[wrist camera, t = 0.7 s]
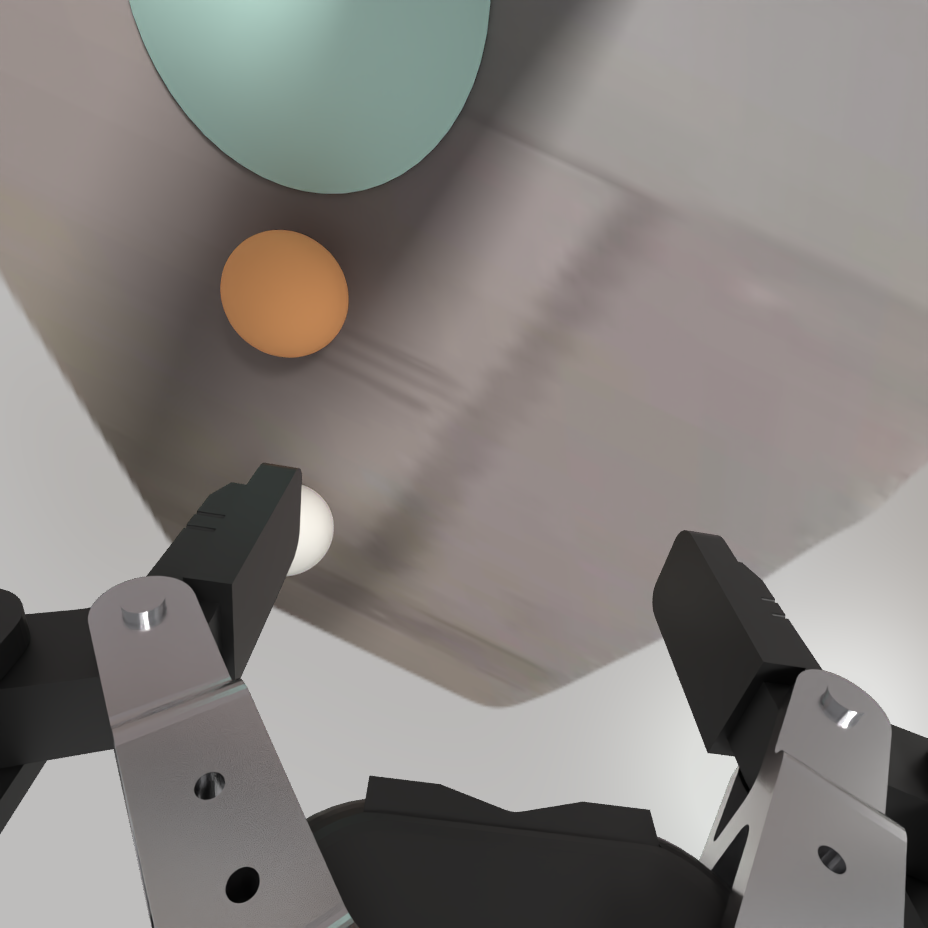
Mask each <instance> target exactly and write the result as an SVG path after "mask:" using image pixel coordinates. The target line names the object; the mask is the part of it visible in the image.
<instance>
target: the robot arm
mask: <svg viewBox="0 0 928 928" xmlns="http://www.w3.org/2000/svg"><path fill="white" fill-rule="evenodd" d="M301 489H302V473H301V469H299V468H293V467H287V466H281V465H274V464H268V463H262V464H261V465H260V466H259V468H258V469H257V471H256V472H255V473H254V475H253V476H252V478H251V479H250V481H249V482H248V484H247V485H244V484H237V483H230V484H228V485H226V486H224V487H223V488H221V489H219V490H217V491H216V492H214V493H212V494H210V495H209V497H208V498H207V499H206V500H205V502H204V503H203V504H202V506H201V507H200V508H199V509H198V511H197V514H195V515H194V516H193V517H192V518H191V520H190V521H189V522H188V524H187V527H186V528H184V529H183V530H182V531H181V533H180V534H179V535H178V536H177V538H176V539H175V540H174V542H173V543H172V544H171V545H170V547H169V548H168V549H167V551H166V552H165V553H164V554H163V556H162V557H161V558H160V560H159V561H158V562H157V563H156V565H155V566H154V567H153V569H152V570H151V571H150V572H149V574H148V575H147V576H146V577H140V578H135V579H132V580H128V581H125V582H123V583H121V584H118V585H116V586H114V587H112V588H111V589H109V590H108V591H106V592H105V593H103V594H102V595H101V596H100V597H99V598H98V599H97V600H96V601H95V602H94V604H93V605H92V607H91V608H85V609H78V610H69V611H57V612H47V613H35V614H25V612H24V609H23V605H22V603H21V601H20V599H19V598H18V597H17V596H16V595H15V594H13V593H11V592H9V591H6V590H3V589H0V834H1V832H2V830H3V829H4V827H5V826H6V824H7V822H8V821H9V819H10V818H11V816H12V814H13V813H14V811H15V810H16V808H17V807H18V805H19V803H20V802H21V800H22V799H23V797H24V796H25V794H26V793H27V791H28V789H29V788H30V786H31V785H32V783H33V781H34V780H35V778H36V777H37V775H38V774H39V772H40V770H41V769H42V767H43V766H44V764H45V763H46V761H47V760H52V759H58V758H63V757H69V756H75V755H81V754H87V753H92V752H98V751H104V750H110V749H114V753H115V758H116V762H117V767H118V772H119V776H120V781H121V786H122V790H123V795H124V800H125V804H126V809H127V813H128V818H129V823H130V827H131V832H132V837H133V842H134V846H135V851H136V856H137V861H138V865H139V870H140V875H141V880H142V885H143V890H144V894H145V899H146V904H147V908H148V913H149V918H150V922H151V927H152V928H928V738H925V737H923V736H920V735H917V734H915V733H912V732H910V731H907V730H905V729H902V728H899V727H897V726H894V725H892V724H890V721H889V719H888V717H887V716H886V714H885V712H884V711H883V710H882V708H881V707H880V706H879V705H878V703H877V702H876V701H875V700H874V699H873V698H872V697H871V696H870V695H868V694H867V693H866V692H865V691H863V690H862V689H861V688H859V687H858V686H856V685H855V684H854V683H852V682H850V681H849V680H847V679H845V678H843V677H841V676H839V675H836V674H834V673H831V672H827V671H824V670H822V669H821V667H820V666H819V664H818V663H817V661H816V660H815V658H814V657H813V655H812V654H811V652H810V651H809V649H808V648H807V646H806V645H805V643H804V642H803V640H802V639H801V637H800V636H799V634H798V633H797V631H796V630H795V628H794V627H793V625H792V624H791V622H790V621H789V619H785V614H784V612H783V611H782V609H781V608H780V606H779V605H778V603H775V599H774V597H773V596H772V594H771V593H770V591H769V590H768V588H767V587H766V585H765V584H764V582H763V581H762V580H761V579H760V578H759V577H758V576H757V575H756V574H754V573H753V572H752V571H751V570H750V569H749V568H747V567H746V566H745V565H744V564H743V563H741V562H738V561H737V559H736V558H735V556H734V555H733V553H732V552H731V550H730V548H729V547H728V545H727V544H726V542H725V541H724V539H723V538H722V537H721V536H718V535H712V534H706V533H699V532H693V531H687V530H684V531H681V532H680V533H679V534H678V536H677V537H676V539H675V541H674V543H673V546H672V548H671V550H670V552H669V555H668V557H667V559H666V562H665V564H664V566H663V568H662V571H661V573H660V575H659V578H658V580H657V582H656V585H655V587H654V592H653V601H652V603H653V612H654V615H655V618H656V621H657V623H658V626H659V628H660V631H661V634H662V636H663V639H664V641H665V644H666V646H667V649H668V652H669V654H670V657H671V659H672V661H673V664H674V667H675V670H676V672H677V675H678V677H679V680H680V683H681V685H682V688H683V690H684V693H685V695H686V698H687V700H688V703H689V706H690V708H691V711H692V713H693V716H694V719H695V721H696V724H697V726H698V729H699V732H700V734H701V737H702V739H703V742H704V744H705V747H706V749H707V752H708V753H713V754H721V755H729V756H735V758H736V760H737V763H738V767H737V768H736V770H735V771H734V773H733V774H732V776H731V778H730V781H729V783H728V786H727V789H726V792H725V794H724V797H723V800H722V802H721V805H720V807H719V810H718V813H717V815H716V818H715V821H714V823H713V826H712V829H711V832H710V834H709V837H708V839H707V842H706V845H705V847H704V850H703V853H702V855H701V857H700V859H699V860H697V859H696V858H695V857H693V856H691V855H690V854H688V853H687V852H685V851H684V850H682V849H681V848H679V847H677V846H675V845H674V844H672V843H670V842H668V841H666V840H664V839H662V838H660V837H657V835H656V831H655V827H654V824H653V820H652V816H651V813H650V810H646V809H638V808H630V807H622V806H613V805H605V804H597V803H589V802H578V803H573V804H566V805H560V806H554V807H548V808H541V809H535V810H530V811H523V812H510V811H507V810H504V809H501V808H499V807H496V806H494V805H491V804H489V803H486V802H484V801H481V800H479V799H476V798H474V797H471V796H468V795H466V794H464V793H461V792H458V791H455V790H453V789H451V788H448V787H446V786H443V785H441V784H434V783H425V782H417V781H409V780H401V779H393V778H384V777H376V776H369V782H368V788H367V794H366V799H362V800H356V801H351V802H347V803H343V804H340V805H336V806H333V807H330V808H328V809H326V810H323V811H321V812H318V813H316V814H314V815H312V816H310V817H309V818H307V819H306V818H305V816H304V813H303V811H302V809H301V807H300V804H299V802H298V800H297V798H296V795H295V793H294V791H293V789H292V786H291V784H290V782H289V780H288V777H287V775H286V773H285V771H284V769H283V766H282V764H281V762H280V759H279V757H278V755H277V753H276V751H275V748H274V746H273V744H272V742H271V739H270V737H269V735H268V733H267V730H266V728H265V726H264V724H263V722H262V719H261V717H260V715H259V712H258V710H257V708H256V706H255V703H254V701H253V699H252V697H251V694H250V692H249V690H248V688H247V686H246V685H245V683H244V682H243V680H242V679H240V678H241V676H242V673H243V671H244V669H245V667H246V665H247V662H248V660H249V658H250V656H251V653H252V651H253V649H254V647H255V645H256V642H257V640H258V638H259V636H260V633H261V631H262V629H263V627H264V624H265V622H266V620H267V618H268V616H269V613H270V611H271V609H272V607H273V604H274V602H275V600H276V598H277V596H278V593H279V591H280V589H281V587H282V584H283V582H284V580H285V578H286V575H287V573H288V571H289V569H290V567H291V564H292V562H293V560H294V557H295V554H296V550H297V546H298V541H299V534H300V514H301Z"/></svg>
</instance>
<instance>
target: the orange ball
mask: <svg viewBox="0 0 928 928" xmlns="http://www.w3.org/2000/svg"><path fill="white" fill-rule="evenodd" d="M220 293H221V300H222V304H223V308H224V311H225V313H226V316H227V318H228V320H229V322H230V323H231V325H232V326H233V328H234V329H235V331H236V332H237V333H238V334H239V335H240V336H241V337H242V338H243V339H244V340H245V341H246V342H248V343H249V344H250V345H252V346H253V347H255V348H256V349H258V350H260V351H262V352H265V353H267V354H270V355H274V356H279V357H287V358H294V357H301V356H306V355H309V354H312V353H314V352H317V351H319V350H320V349H322V348H323V347H325V346H326V345H328V344H329V343H330V342H331V341H332V340H333V339H334V338H335V337H336V335H337V334H338V333H339V331H340V330H341V328H342V326H343V324H344V321H345V319H346V315H347V312H348V304H349V294H348V287H347V283H346V279H345V276H344V274H343V271H342V270H341V268H340V266H339V264H338V263H337V261H336V260H335V258H334V257H333V256H332V255H331V253H330V252H329V251H328V250H327V249H326V248H324V247H323V246H322V245H321V244H319V243H318V242H317V241H315V240H313V239H312V238H310V237H308V236H306V235H303V234H301V233H297V232H294V231H288V230H270V231H264V232H261V233H258V234H256V235H253V236H251V237H249V238H247V239H246V240H245V241H243V242H242V243H241V244H240V245H239V246H238V247H237V248H236V249H235V250H234V251H233V252H232V253H231V255H230V256H229V258H228V260H227V262H226V264H225V266H224V269H223V272H222V277H221V284H220Z"/></svg>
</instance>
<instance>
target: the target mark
mask: <svg viewBox="0 0 928 928" xmlns="http://www.w3.org/2000/svg"><path fill="white" fill-rule="evenodd" d="M129 2H130V6H131V9H132V13H133V16H134V18H135V21H136V24H137V26H138V29H139V32H140V34H141V37H142V40H143V42H144V45H145V47H146V49H147V51H148V53H149V55H150V57H151V59H152V61H153V63H154V65H155V67H156V69H157V71H158V73H159V74H160V76H161V78H162V79H163V81H164V83H165V84H166V86H167V88H168V89H169V91H170V93H171V94H172V96H173V97H174V98H175V100H176V101H177V102H178V104H179V105H180V106H181V108H182V109H183V110H184V112H185V113H186V115H187V116H188V117H189V118H190V119H191V120H192V121H193V122H194V124H195V125H196V126H197V127H198V128H199V129H200V130H201V131H202V132H203V134H204V135H205V136H206V137H208V138H209V139H210V140H211V141H212V142H213V143H214V144H215V145H216V146H217V147H219V148H220V149H221V150H222V151H223V152H224V153H226V154H227V155H228V156H230V157H231V158H232V159H234V160H235V161H237V162H238V163H239V164H241V165H242V166H244V167H245V168H247V169H249V170H251V171H253V172H254V173H256V174H258V175H260V176H261V177H263V178H266V179H268V180H271V181H273V182H275V183H278V184H280V185H283V186H286V187H290V188H294V189H297V190H301V191H306V192H314V193H322V194H343V193H350V192H356V191H362V190H366V189H369V188H372V187H375V186H378V185H382V184H384V183H386V182H388V181H390V180H392V179H394V178H396V177H398V176H400V175H402V174H403V173H405V172H406V171H408V170H409V169H410V168H412V167H413V166H415V165H416V164H418V163H419V162H420V161H421V160H422V159H423V158H424V157H425V156H426V155H427V154H429V153H430V152H431V151H432V150H433V149H434V148H435V147H436V145H437V144H438V143H439V142H440V141H441V139H442V138H443V137H444V136H445V134H446V133H447V132H448V131H449V129H450V128H451V126H452V125H453V123H454V121H455V120H456V118H457V117H458V115H459V113H460V112H461V110H462V108H463V106H464V104H465V102H466V100H467V97H468V95H469V93H470V91H471V89H472V87H473V84H474V81H475V78H476V75H477V72H478V69H479V66H480V63H481V59H482V55H483V50H484V45H485V41H486V36H487V29H488V20H489V11H490V0H129Z"/></svg>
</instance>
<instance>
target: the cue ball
mask: <svg viewBox="0 0 928 928" xmlns="http://www.w3.org/2000/svg"><path fill="white" fill-rule="evenodd" d="M333 533H334V522H333V516H332V513H331V511H330V508H329V506H328V504H327V503H326V502H325V500H324V499H323V498H322V497H321V496H320V495H319V494H318V493H317V492H316V491H314V490H313V489H311V488H309V487H307V486H305V485H302V489H301V514H300V534H299V541H298V546H297V550H296V554H295V557H294V560H293V562H292V564H291V567H290V569H289V571H288V573H287V575H286V576H292V575H297V574H300V573H302V572H305V571H307V570H309V569H310V568H312V567H313V566H315V565H316V564H317V563H318V562H319V561H320V560H321V559H322V558H323V557H324V556H325V554H326V553H327V551H328V549H329V547H330V545H331V542H332V539H333Z"/></svg>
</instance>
